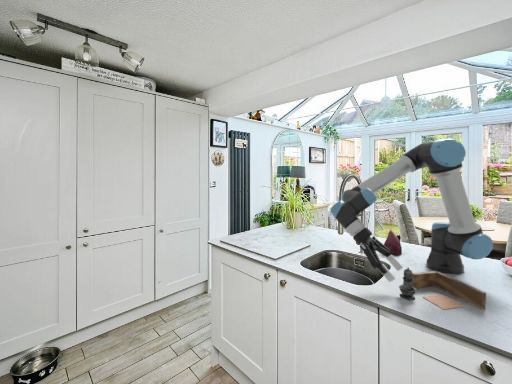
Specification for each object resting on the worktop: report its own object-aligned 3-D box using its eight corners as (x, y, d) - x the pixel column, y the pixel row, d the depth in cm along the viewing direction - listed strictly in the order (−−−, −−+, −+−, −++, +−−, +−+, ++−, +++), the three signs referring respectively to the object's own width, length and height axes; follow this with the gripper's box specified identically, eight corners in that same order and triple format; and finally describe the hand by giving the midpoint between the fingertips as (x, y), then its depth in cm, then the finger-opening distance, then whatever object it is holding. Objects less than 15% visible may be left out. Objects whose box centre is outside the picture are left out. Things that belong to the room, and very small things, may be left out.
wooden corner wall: (436, 284, 108) (436, 270, 108) (485, 309, 89) (486, 292, 88) (411, 286, 106) (411, 273, 106) (456, 312, 87) (457, 296, 86)
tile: (442, 294, 99) (442, 294, 99) (465, 306, 90) (465, 306, 90) (422, 297, 98) (422, 296, 98) (443, 309, 89) (443, 308, 89)
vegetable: (381, 255, 156) (376, 231, 159) (399, 253, 154) (393, 229, 157) (387, 256, 146) (381, 230, 148) (406, 254, 144) (400, 228, 147)
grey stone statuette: (400, 291, 102) (401, 263, 101) (417, 296, 99) (418, 266, 98) (397, 297, 98) (398, 267, 97) (415, 302, 94) (416, 271, 93)
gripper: (362, 231, 120) (396, 269, 111) (341, 243, 101) (380, 290, 92) (374, 221, 116) (410, 260, 107) (355, 232, 97) (397, 280, 88)
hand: (396, 274), depth 100 cm, fingers open, 13 cm apart
